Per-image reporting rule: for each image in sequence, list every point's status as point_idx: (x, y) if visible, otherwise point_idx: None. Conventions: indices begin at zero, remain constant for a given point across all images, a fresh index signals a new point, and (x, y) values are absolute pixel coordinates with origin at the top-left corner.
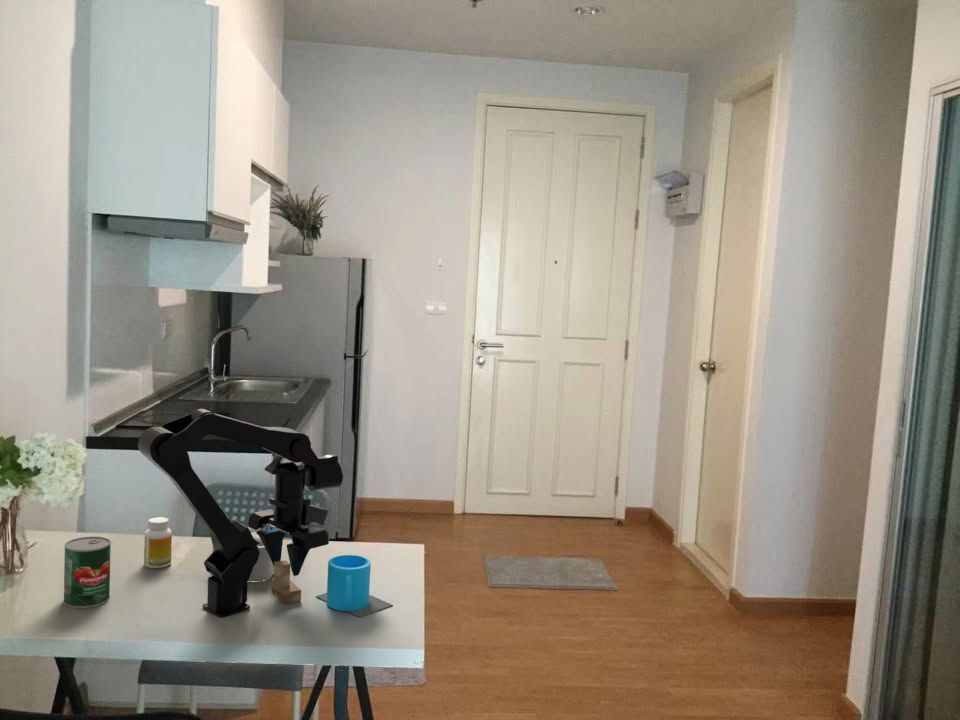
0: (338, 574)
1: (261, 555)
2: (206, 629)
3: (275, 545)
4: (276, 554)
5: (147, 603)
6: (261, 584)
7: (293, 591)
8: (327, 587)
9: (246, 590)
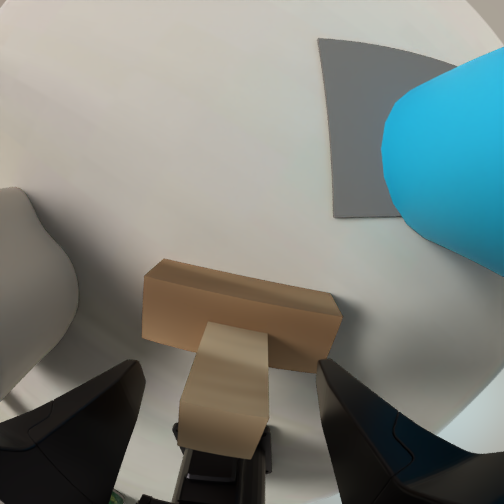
0: None
1: (17, 343)
2: (298, 485)
3: (83, 468)
4: (112, 425)
5: (132, 479)
6: (99, 307)
7: (330, 348)
8: (454, 247)
9: (237, 459)
